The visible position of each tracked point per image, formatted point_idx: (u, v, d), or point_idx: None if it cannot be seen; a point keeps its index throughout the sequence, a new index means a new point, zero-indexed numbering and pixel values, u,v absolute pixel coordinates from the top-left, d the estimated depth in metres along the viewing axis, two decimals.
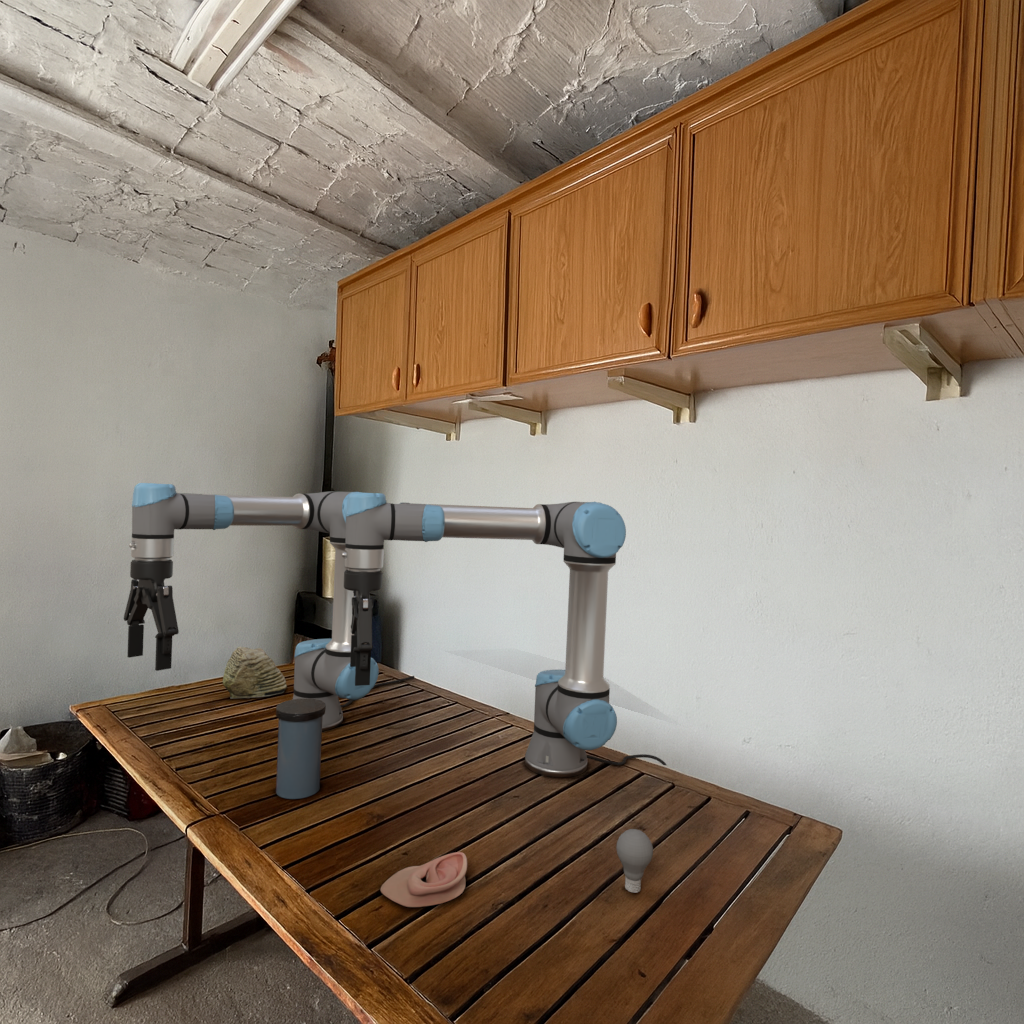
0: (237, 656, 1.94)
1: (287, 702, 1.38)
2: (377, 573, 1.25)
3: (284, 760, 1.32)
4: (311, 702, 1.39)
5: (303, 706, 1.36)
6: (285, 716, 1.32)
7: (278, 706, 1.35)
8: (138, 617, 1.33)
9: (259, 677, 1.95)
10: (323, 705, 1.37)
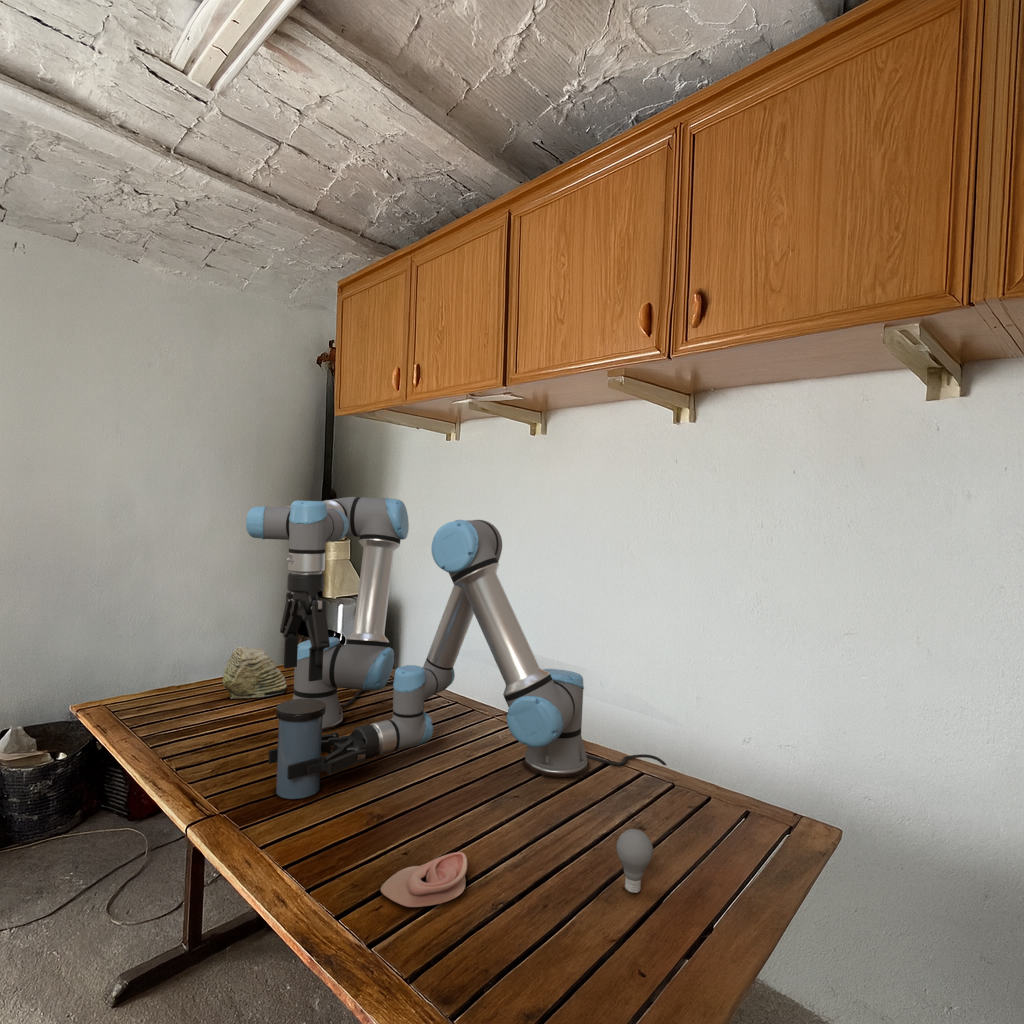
0: (237, 656, 1.94)
1: (287, 702, 1.38)
2: None
3: (284, 760, 1.32)
4: (311, 702, 1.39)
5: (303, 706, 1.36)
6: (285, 716, 1.32)
7: (278, 706, 1.35)
8: (293, 629, 1.40)
9: (259, 677, 1.95)
10: (323, 705, 1.37)
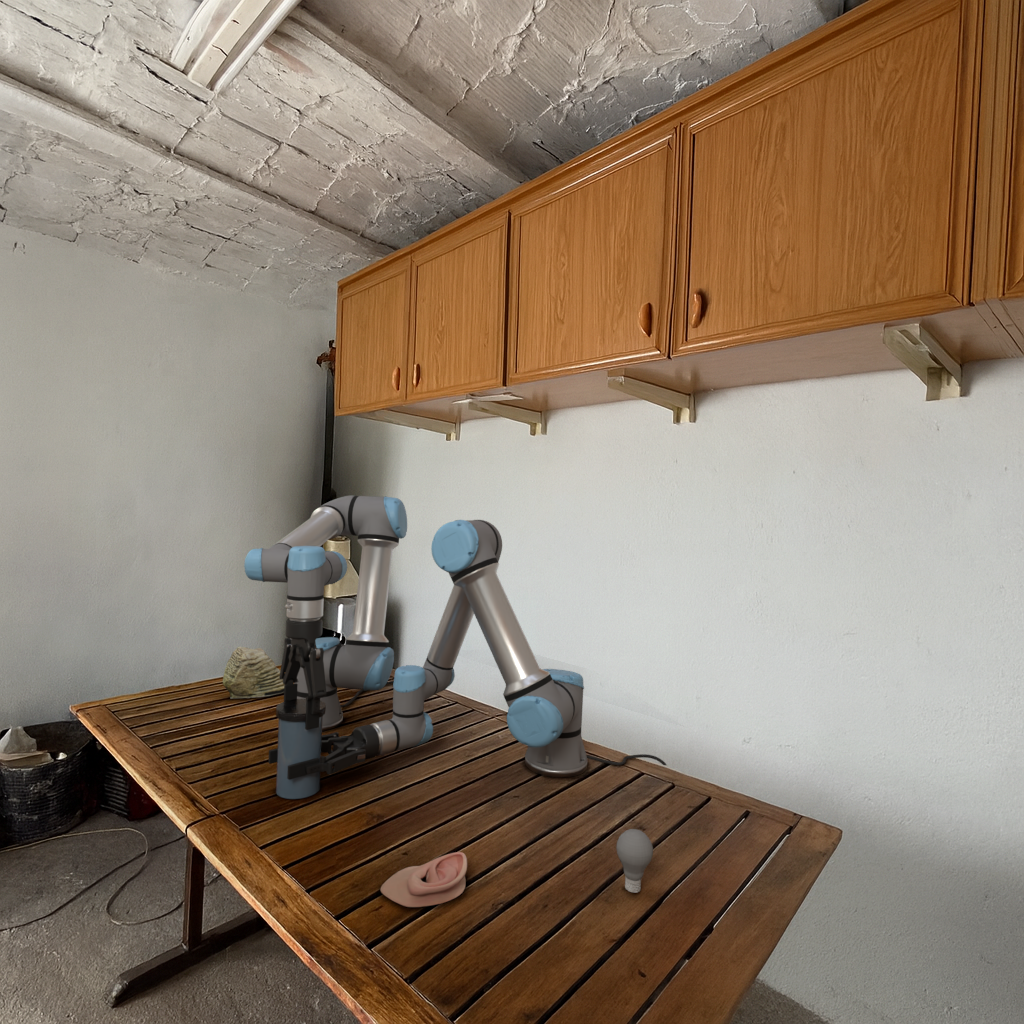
0: (237, 656, 1.94)
1: (287, 702, 1.38)
2: None
3: (284, 760, 1.32)
4: None
5: (303, 706, 1.36)
6: (285, 716, 1.32)
7: (278, 706, 1.35)
8: (292, 675, 1.40)
9: (259, 677, 1.95)
10: (323, 705, 1.37)
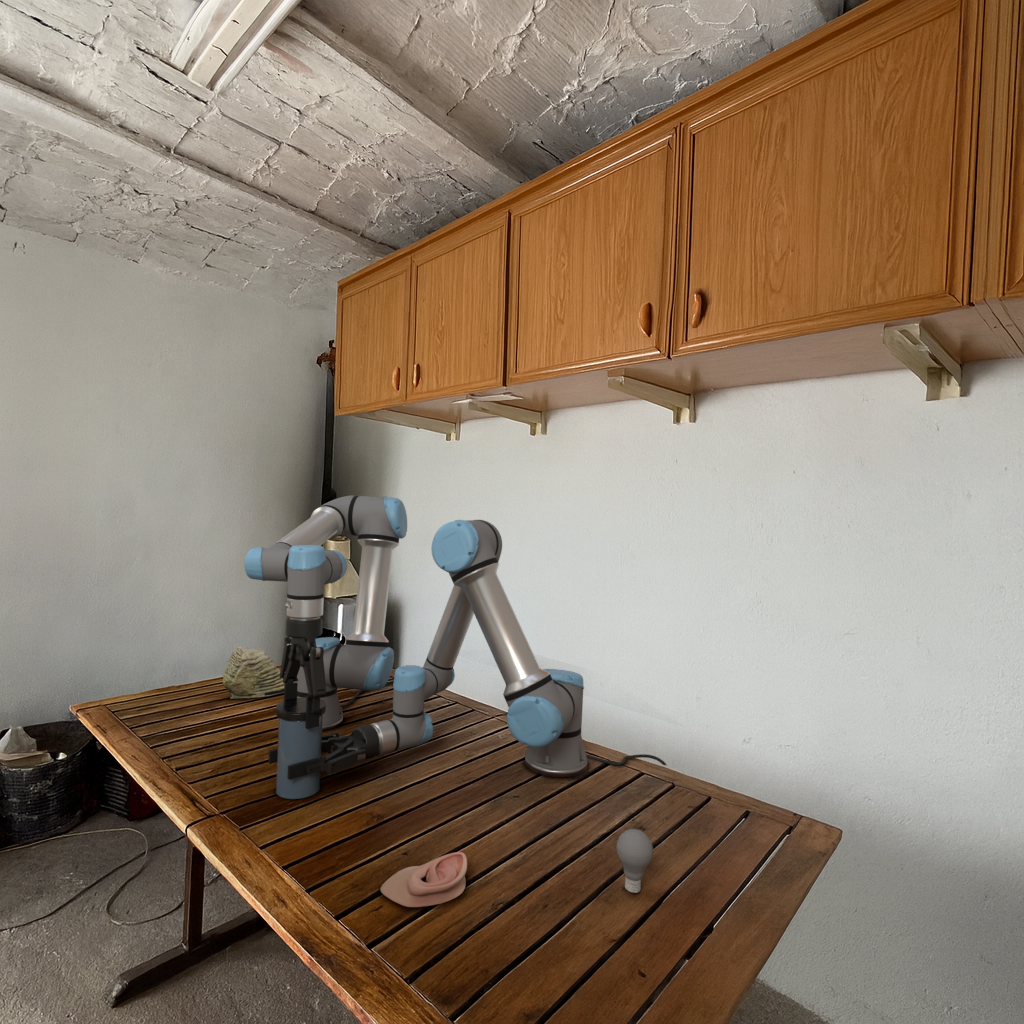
0: (237, 656, 1.94)
1: (283, 708, 1.33)
2: None
3: (284, 760, 1.32)
4: (295, 701, 1.38)
5: (304, 704, 1.37)
6: None
7: (292, 711, 1.32)
8: (292, 674, 1.40)
9: (259, 677, 1.95)
10: None
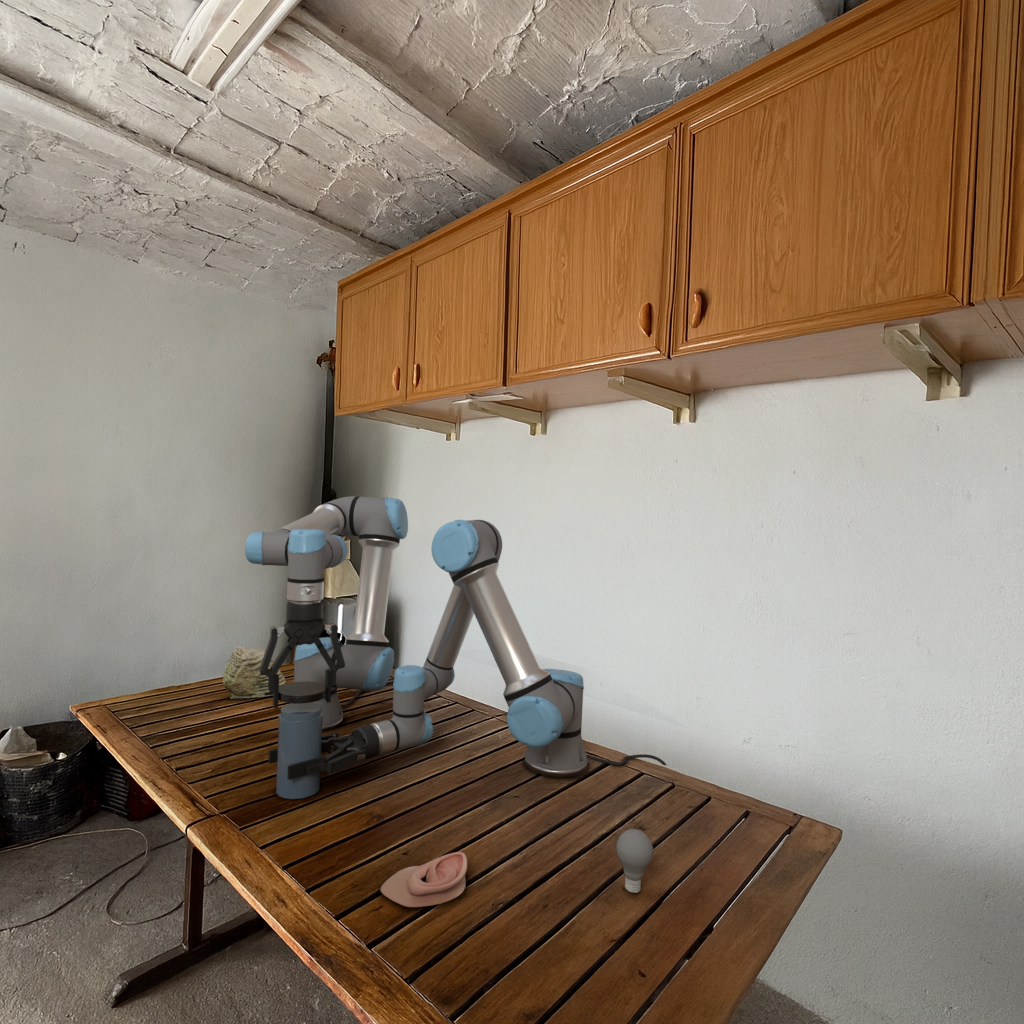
0: (237, 656, 1.94)
1: (306, 693, 1.33)
2: None
3: (284, 760, 1.32)
4: (288, 689, 1.35)
5: (301, 687, 1.37)
6: None
7: (320, 691, 1.35)
8: None
9: (259, 677, 1.95)
10: (285, 685, 1.38)
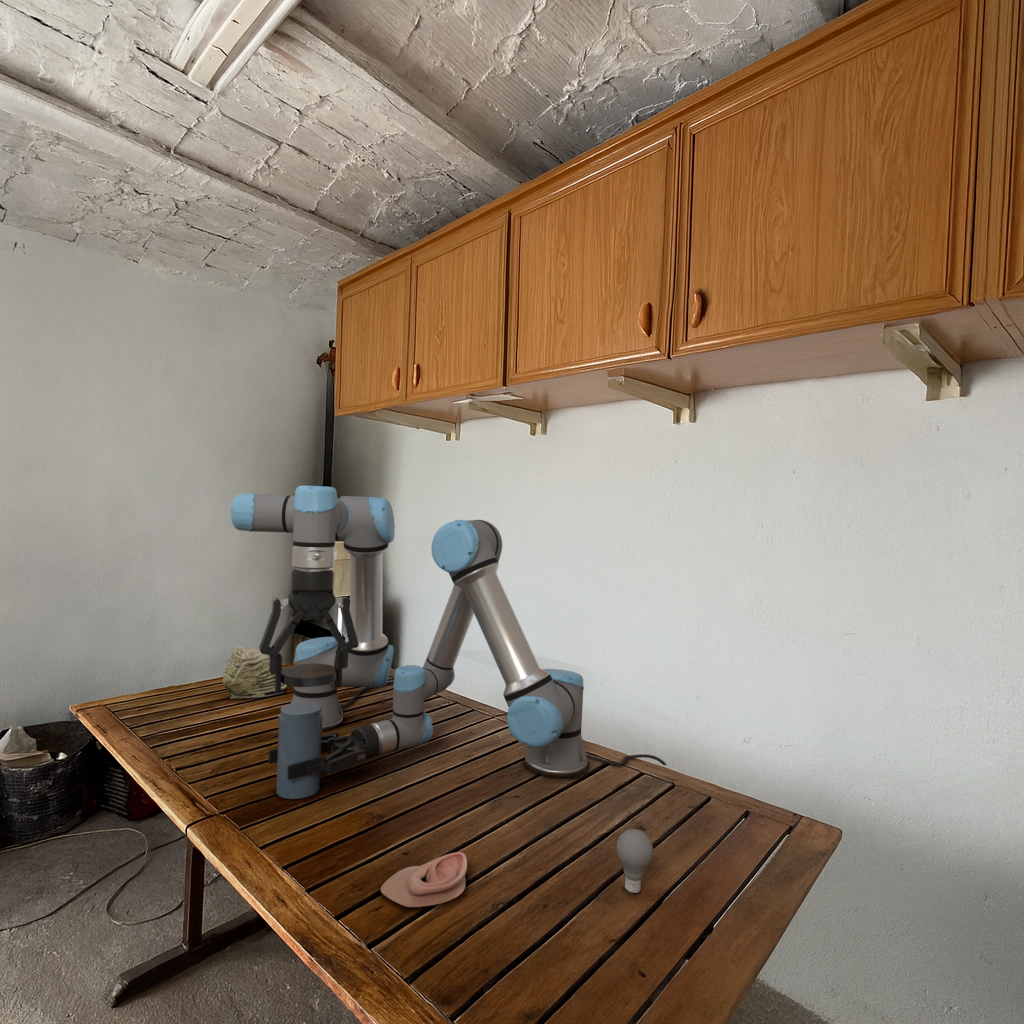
0: (237, 656, 1.94)
1: (314, 675, 1.14)
2: None
3: (284, 760, 1.32)
4: (293, 671, 1.16)
5: (308, 669, 1.18)
6: None
7: (330, 673, 1.16)
8: None
9: (259, 677, 1.95)
10: (289, 666, 1.19)
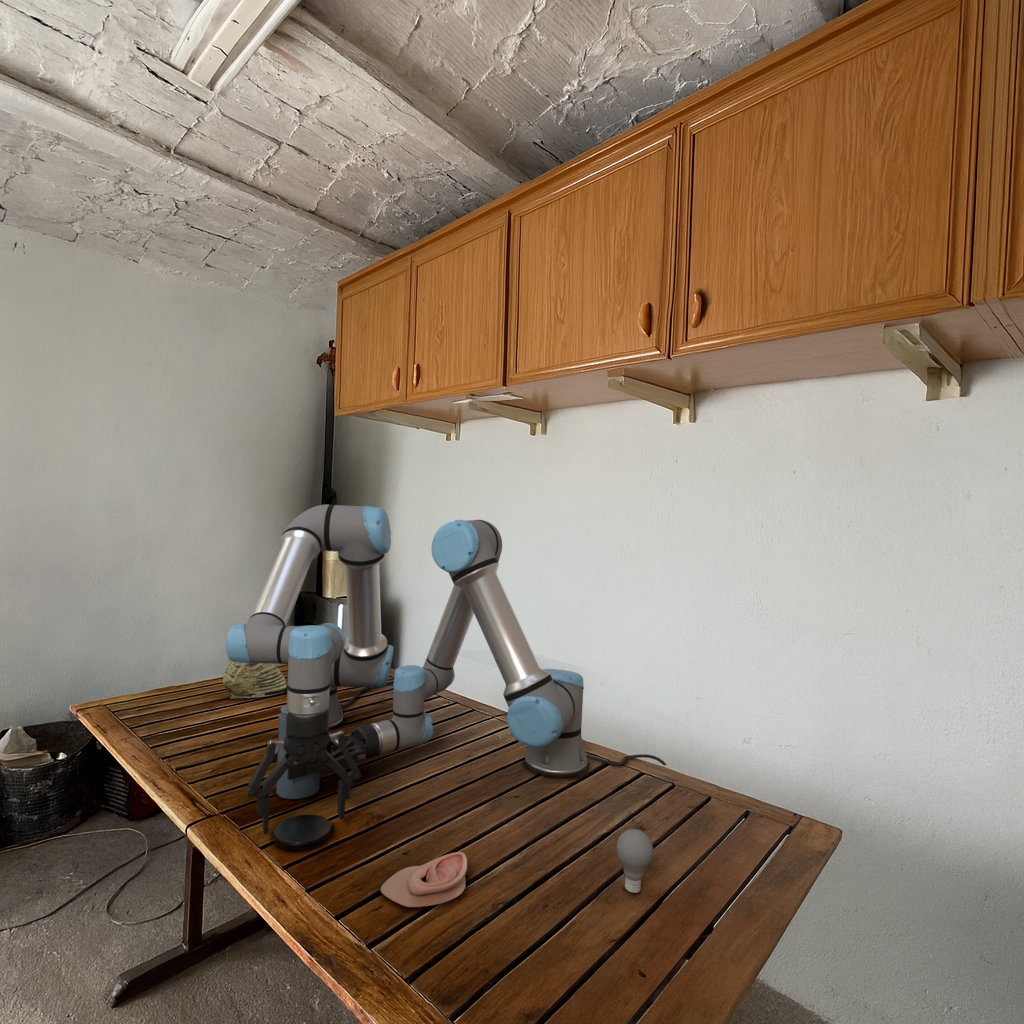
0: None
1: (307, 838, 1.15)
2: None
3: None
4: (286, 831, 1.17)
5: (302, 826, 1.19)
6: None
7: (323, 833, 1.16)
8: None
9: (259, 677, 1.95)
10: (283, 822, 1.20)
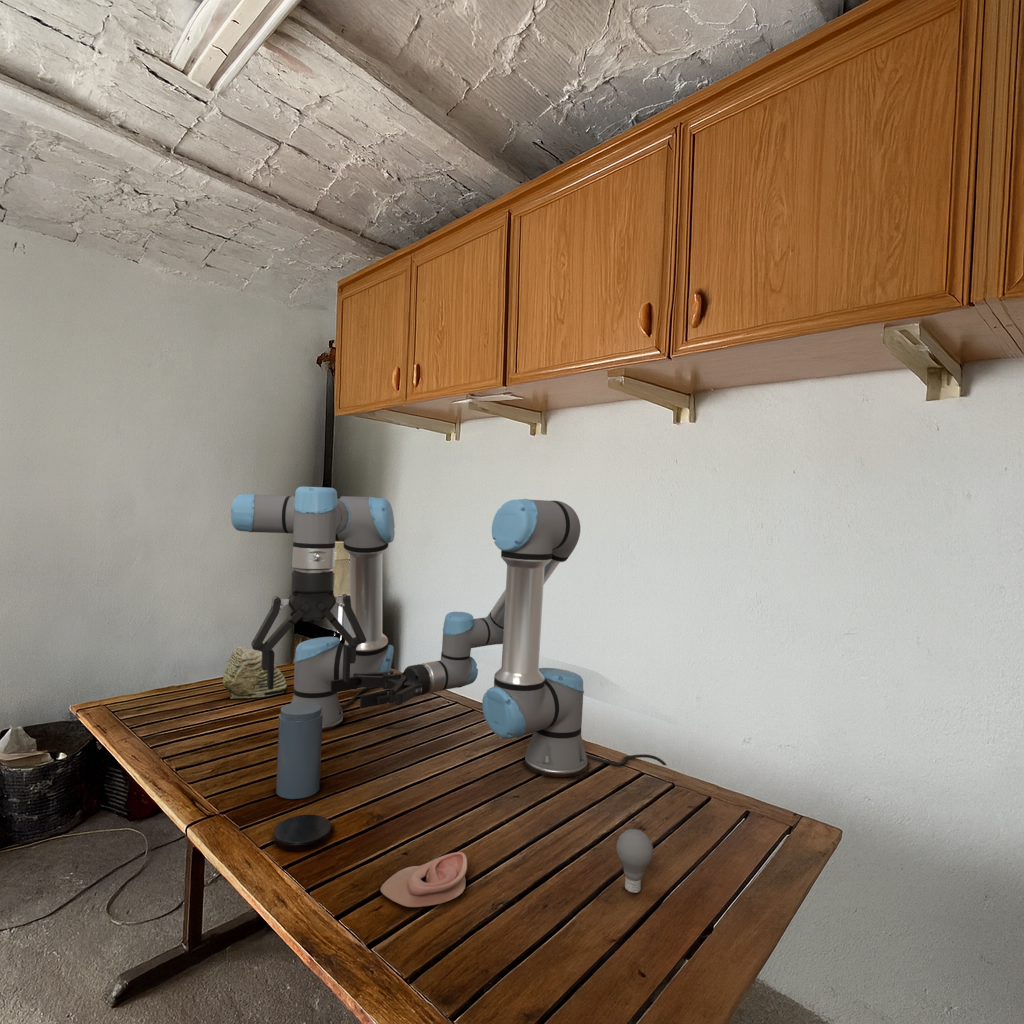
0: (237, 656, 1.94)
1: (307, 838, 1.15)
2: None
3: (284, 760, 1.32)
4: (286, 831, 1.17)
5: (302, 826, 1.19)
6: None
7: (323, 833, 1.16)
8: None
9: (259, 677, 1.95)
10: (283, 822, 1.20)
